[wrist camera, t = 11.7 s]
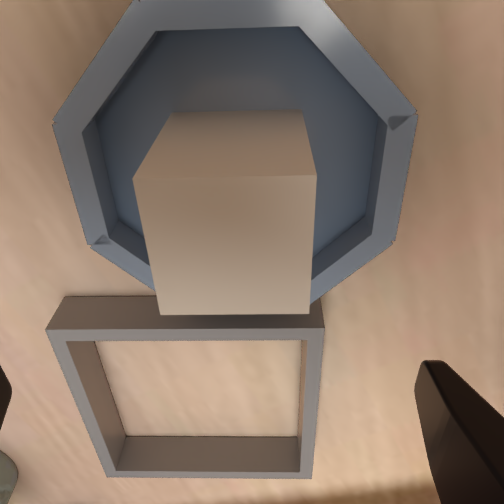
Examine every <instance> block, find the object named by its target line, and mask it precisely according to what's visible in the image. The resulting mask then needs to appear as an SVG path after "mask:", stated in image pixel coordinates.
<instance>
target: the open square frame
mask: <svg viewBox="0 0 504 504" xmlns="http://www.w3.org/2000/svg"><path fill="white" fill-rule="evenodd" d="M45 331H46V333H47V336H48V338H49V340H50V343H51V345H52V348H53V350H54V352H55V355H56V357H57V359H58V362H59V364H60V367H61V369H62V371H63V374H64V376H65V379H66V381H67V383H68V386H69V388H70V391H71V393H72V395H73V398H74V400H75V402H76V405H77V407H78V410H79V412H80V414H81V417H82V419H83V422H84V424H85V426H86V429H87V431H88V434H89V436H90V438H91V441H92V443H93V445H94V448H95V450H96V453H97V455H98V457H99V460H100V462H101V465H102V467H103V469H104V472H105V474H106V476H107V477H136V478H254V479H312V471H313V459H314V447H315V436H316V424H317V413H318V401H319V389H320V378H321V366H322V355H323V343H324V331H325V327H324V320H323V314H322V308H321V301H320V297H319V298H318V299H317V300H315V301H314V302H313V303H311V304H310V308H309V314H226V315H160V311H159V306H158V301H157V296H116V297H64V298H63V300H62V302H61V304H60V305H59V307H58V309H57V310H56V312H55V314H54V315H53V317H52V319H51V320H50V322H49V324H48V326H47V327H46V329H45ZM206 340H302V356H301V377H300V399H299V420H298V437H126V435H125V432H124V429H123V426H122V423H121V420H120V417H119V414H118V411H117V408H116V405H115V402H114V400H113V397H112V394H111V391H110V388H109V385H108V382H107V379H106V376H105V373H104V370H103V367H102V364H101V361H100V358H99V355H98V352H97V349H96V346H95V343H94V341H206Z"/></svg>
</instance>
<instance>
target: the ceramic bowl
mask: <svg viewBox="0 0 504 504" xmlns="http://www.w3.org/2000/svg"><path fill="white" fill-rule="evenodd" d="M289 109H302V113H303V117H304V122H305V126H306V130H307V135H308V139H309V143H310V148H311V152H312V156H313V160H314V165H315V169H316V173H317V182H316V200H315V218H314V236H313V254H312V272H311V290H310V304H311V303H313V302H314V301H315V300H317V299H318V298H319V297H321V296H322V295H324V294H325V293H326V292H328V291H329V290H330V289H332V288H333V287H335V286H336V285H337V284H339V283H340V282H341V281H343V280H344V279H345V278H347V277H348V276H350V275H351V274H352V273H354V272H355V271H356V270H358V269H359V268H361V267H362V266H363V265H365V264H366V263H367V262H369V261H370V260H372V259H373V258H374V257H376V256H377V255H378V254H380V253H381V252H383V251H384V250H385V249H387V248H388V247H389V246H391V245H392V244H393V243H392V241H395V239H396V233H397V228H398V223H399V217H400V212H401V206H402V201H403V195H404V190H405V185H406V179H407V174H408V168H409V163H410V157H411V152H412V147H413V141H414V136H415V130H416V125H417V119H418V115H417V114H416V113H415V112H416V111H417V110H416V109H415V108H414V107H413V106H412V104H411V103H410V102H409V101H408V100H407V98H406V97H405V96H404V95H403V94H402V93H401V91H400V90H399V89H398V88H397V87H396V85H395V84H394V83H393V82H392V81H391V80H390V78H389V77H388V76H387V75H386V74H385V72H384V71H383V70H382V69H381V68H380V67H379V65H378V64H377V63H376V62H375V61H374V59H373V58H372V57H371V56H370V55H369V53H368V52H367V51H366V50H365V49H364V48H363V46H362V45H361V44H360V43H359V42H358V40H357V39H356V38H355V37H354V36H353V35H352V33H351V32H350V31H349V30H348V29H347V27H346V26H345V25H344V24H343V23H342V22H341V20H340V19H339V18H338V17H337V16H336V14H335V13H334V12H333V11H332V10H331V9H330V7H329V6H328V5H327V4H326V3H325V1H324V0H133V1H132V3H131V4H130V6H129V7H128V9H127V10H126V12H125V13H124V15H123V16H122V17H121V19H120V20H119V22H118V23H117V25H116V26H115V28H114V29H113V31H112V32H111V34H110V35H109V37H108V38H107V40H106V41H105V43H104V44H103V46H102V47H101V49H100V50H99V52H98V53H97V55H96V56H95V58H94V59H93V61H92V62H91V64H90V65H89V66H88V68H87V69H86V71H85V72H84V74H83V75H82V77H81V78H80V80H79V81H78V83H77V84H76V86H75V87H74V89H73V90H72V92H71V93H70V95H69V96H68V98H67V99H66V101H65V102H64V104H63V105H62V107H61V108H60V110H59V111H58V113H57V114H56V115H55V117H54V118H53V121H54V123H53V124H52V126H53V130H54V133H55V137H56V140H57V143H58V147H59V150H60V153H61V157H62V160H63V164H64V167H65V170H66V174H67V177H68V180H69V184H70V187H71V191H72V194H73V197H74V201H75V204H76V207H77V211H78V214H79V218H80V221H81V224H82V228H83V231H84V234H85V238H86V241H87V245H91V247H90V248H91V249H93V250H94V251H96V252H97V253H99V254H100V255H102V256H103V257H105V258H106V259H108V260H109V261H111V262H112V263H114V264H115V265H117V266H118V267H120V268H121V269H123V270H124V271H126V272H127V273H129V274H130V275H132V276H133V277H135V278H136V279H138V280H139V281H141V282H142V283H144V284H145V285H147V286H148V287H150V288H151V289H153V290H154V291H155V286H154V281H153V277H152V272H151V267H150V262H149V257H148V252H147V248H146V243H145V238H144V233H143V228H142V223H141V218H140V214H139V209H138V204H137V199H136V194H135V189H134V184H133V180H132V178H133V177H134V175H135V173H136V172H137V170H138V168H139V167H140V165H141V163H142V162H143V160H144V158H145V157H146V155H147V153H148V151H149V150H150V148H151V146H152V145H153V143H154V141H155V140H156V138H157V136H158V135H159V133H160V131H161V130H162V128H163V126H164V125H165V123H166V121H167V120H168V118H169V116H170V115H171V113H174V112H213V111H251V110H289Z"/></svg>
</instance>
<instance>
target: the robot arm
mask: <svg viewBox="0 0 504 504" xmlns="http://www.w3.org/2000/svg"><path fill="white" fill-rule="evenodd" d="M414 392H415V399H416V404H417V409H418V414H419V418H420V423H421V428H422V433H423V438H424V442H425V447H426V452H427V457H428V461H429V466H430V470H431V473H432V476H433V480H434V483H435V486H436V489H437V492H438V495H439V498H440V501H441V504H504V417H503V416H502V415H501V414H499V413H498V412H497V411H496V410H495V409H494V408H493V407H492V406H491V405H490V404H489V403H488V402H487V401H486V400H485V399H484V398H483V397H482V396H480V395H479V394H478V393H477V392H476V391H475V390H474V389H473V388H472V387H471V386H470V385H469V384H468V383H467V382H466V381H465V380H464V379H462V378H461V377H460V376H459V375H458V374H457V373H456V372H455V371H454V370H453V369H452V368H451V367H450V366H449V365H448V364H447V363H445V362H444V361H441V360H425V361H423V362H422V363H421V365H420V369H419V372H418V376H417V379H416V383H415V389H414ZM11 395H12V388H11V384H10V383H9V381H8V379H7V377H6V375H5V373H4V371H3V369H2V368H1V366H0V430H1V427H2V424H3V421H4V418H5V414H6V411H7V408H8V405H9V402H10V399H11Z"/></svg>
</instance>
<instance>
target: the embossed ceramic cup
mask: <svg viewBox="0 0 504 504" xmlns="http://www.w3.org/2000/svg"><path fill="white" fill-rule="evenodd" d="M17 477H18V471H17V468H16V466H15V464H14V463H13V461H12V460H11V459H10V458H9V457H8V456H7V455H5V454H4V453H3V452H1V451H0V504H8V501H9V499H10V497H11V494H12V492H13V490H14V487H15V485H16V482H17Z"/></svg>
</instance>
